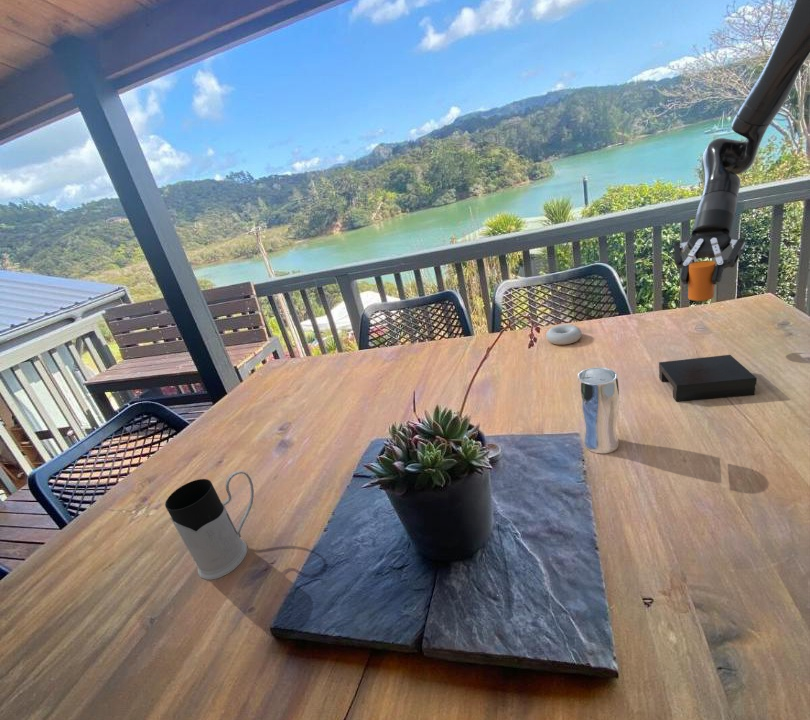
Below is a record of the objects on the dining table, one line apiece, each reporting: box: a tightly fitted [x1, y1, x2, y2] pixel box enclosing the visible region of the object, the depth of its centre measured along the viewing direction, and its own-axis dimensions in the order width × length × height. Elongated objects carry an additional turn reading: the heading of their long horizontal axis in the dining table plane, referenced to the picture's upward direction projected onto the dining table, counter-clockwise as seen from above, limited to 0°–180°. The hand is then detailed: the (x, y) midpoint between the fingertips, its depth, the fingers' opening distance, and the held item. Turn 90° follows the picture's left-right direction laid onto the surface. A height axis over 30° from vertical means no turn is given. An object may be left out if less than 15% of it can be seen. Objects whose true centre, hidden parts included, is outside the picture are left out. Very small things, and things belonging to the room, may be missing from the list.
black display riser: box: [658, 354, 758, 403], centre depth 92 cm, size 14×11×4 cm
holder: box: [164, 470, 255, 581], centre depth 77 cm, size 9×14×15 cm, turn 134°
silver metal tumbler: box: [577, 366, 621, 455], centre depth 81 cm, size 7×7×15 cm
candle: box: [687, 260, 716, 302], centre depth 100 cm, size 5×5×8 cm
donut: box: [545, 324, 582, 346], centre depth 129 cm, size 10×4×10 cm
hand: (699, 282), depth 99 cm, fingers closed on candle, 5 cm apart
